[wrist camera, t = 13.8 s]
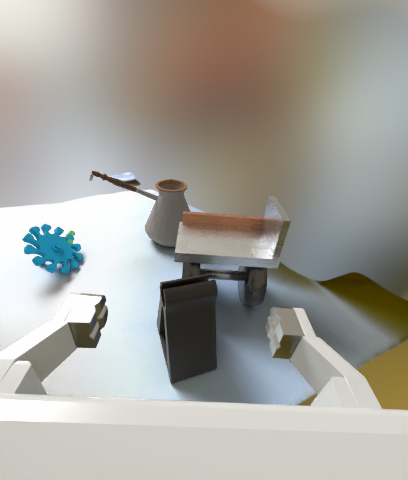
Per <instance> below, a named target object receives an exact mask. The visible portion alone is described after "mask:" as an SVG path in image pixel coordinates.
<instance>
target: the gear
mask: <svg viewBox="0 0 408 480" xmlns="http://www.w3.org/2000/svg"><path fill="white" fill-rule="evenodd" d="M41 229H42V231H43V233H44V235H41V234H40V233H39V231H40V229H39V227H32V228H31V229H30V230H29V232H30V233H31V234H33V235H34V236H35V237H36V239H37V241H36V240H35V239H34V237H33V236H32V235H31V234H29V233H28V234H27V235H26V236H25V237H24V238H23V241H24V242H27V243H30V244H32V245H34V246H35V247H36V248H37V249H36V248H34V247H33V246H32V245H27V246H26V247H25V248H24V252H25V254H38V255H41V256H42V257H39V256H36V257H35V258H34V259H33V260H32V261H33V263H34V264H35V265H36V266H39V265H43V264H44V263H45V262H46V261H50V262H52V264H49V265H48V266H47V267H46V270H47V271H48V272H50V273H53V272H54V271H55V270H56V266H57V263H60V264H62V266H63V267H62V268H61V269H60V272H61V273H64V274H67V273H68V272H69V271H70V268H69V267H68V264H67V261H69V262H70V267H71V269H76V268H77V267H79V266H80V265H79V263H78V262H79V261H80V260H81V259H82V258H83V255H82V254H79V253H77V252H78V251H79V250H80V249H81V246H80V244H72V243H73V240H74V237H73V236H74V235H75V232H73V231H70V232H69V233H68V234H67V235H66V237H60V236H59V235H61V234H62V233H63V232H64V230H63V229H61V228H60V227H57V228H56V229H55V230H54V234H50V233H49V232H48V231H49V230H50V229H51V226H50V225H46V224H44V225H43V226H42V227H41ZM75 251H76V252H75ZM72 256H74V258H75V260H76V261H78V262H76V261H75V260H74V259H73V257H72Z"/></svg>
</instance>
